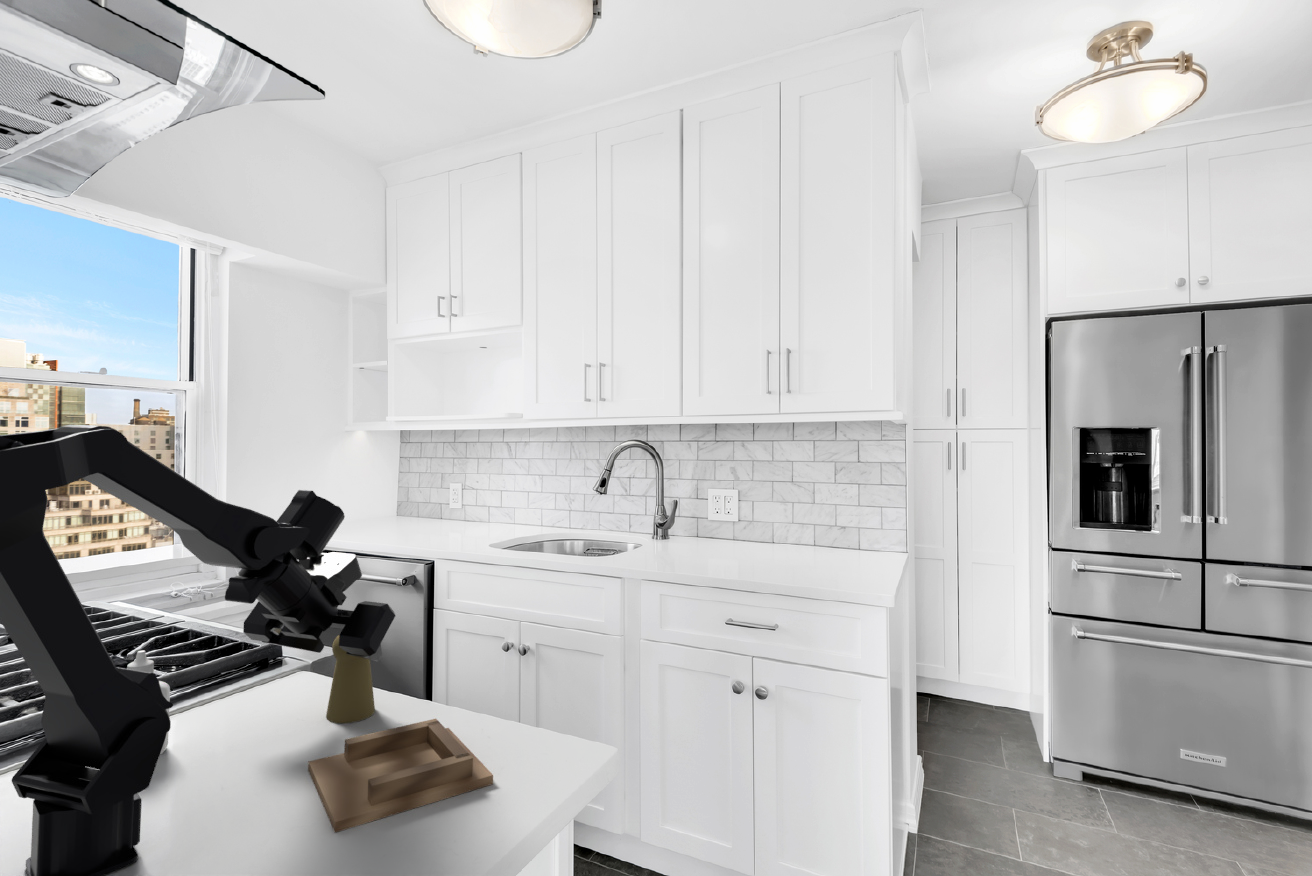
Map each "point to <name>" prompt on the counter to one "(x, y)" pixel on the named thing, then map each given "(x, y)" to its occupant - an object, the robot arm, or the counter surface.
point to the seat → (395, 773)
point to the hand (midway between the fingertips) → (350, 653)
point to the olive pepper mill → (350, 688)
